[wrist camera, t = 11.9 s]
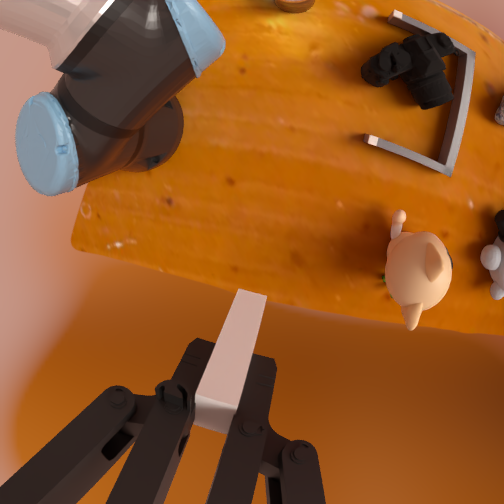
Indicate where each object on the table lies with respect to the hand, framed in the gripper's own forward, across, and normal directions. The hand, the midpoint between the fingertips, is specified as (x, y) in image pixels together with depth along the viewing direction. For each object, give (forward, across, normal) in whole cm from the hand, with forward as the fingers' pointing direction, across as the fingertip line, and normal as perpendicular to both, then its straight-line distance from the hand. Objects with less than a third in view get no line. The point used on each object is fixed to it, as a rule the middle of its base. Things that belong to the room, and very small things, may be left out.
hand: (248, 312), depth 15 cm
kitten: (+30, +21, -5) cm, 37 cm away
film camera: (+30, +14, +22) cm, 39 cm away
